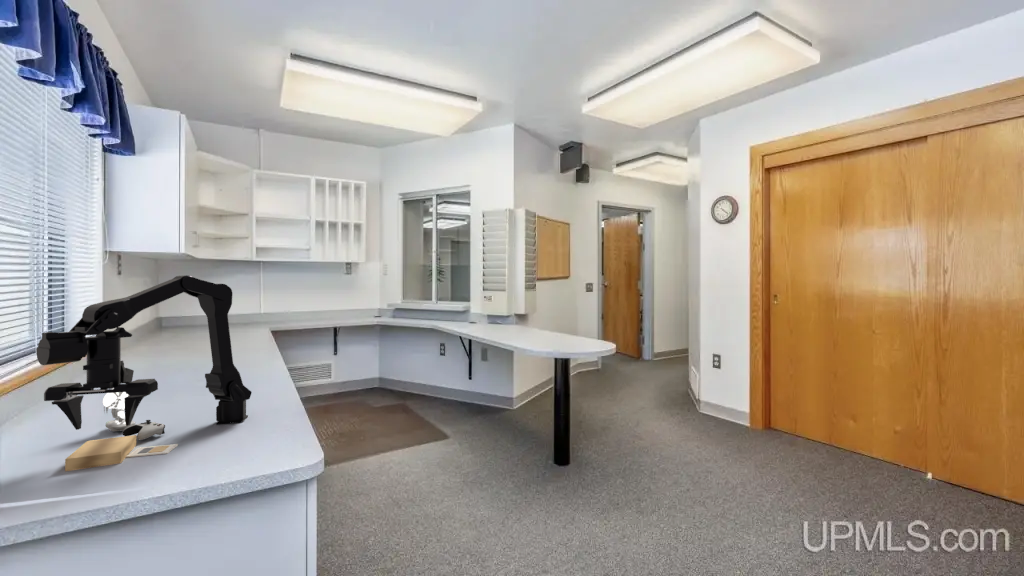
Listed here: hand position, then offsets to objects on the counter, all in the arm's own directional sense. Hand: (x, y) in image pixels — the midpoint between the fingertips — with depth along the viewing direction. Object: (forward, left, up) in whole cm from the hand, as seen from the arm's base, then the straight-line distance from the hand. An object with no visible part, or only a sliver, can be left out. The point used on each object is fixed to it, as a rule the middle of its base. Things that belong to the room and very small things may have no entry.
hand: (103, 427), depth 101 cm
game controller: (-1, -12, -7) cm, 14 cm away
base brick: (0, 0, -7) cm, 7 cm away
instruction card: (-9, -1, -7) cm, 11 cm away
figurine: (+7, -22, -7) cm, 24 cm away
